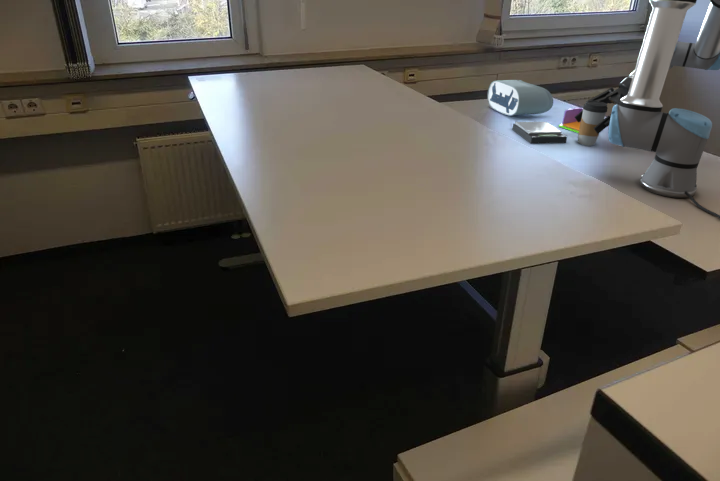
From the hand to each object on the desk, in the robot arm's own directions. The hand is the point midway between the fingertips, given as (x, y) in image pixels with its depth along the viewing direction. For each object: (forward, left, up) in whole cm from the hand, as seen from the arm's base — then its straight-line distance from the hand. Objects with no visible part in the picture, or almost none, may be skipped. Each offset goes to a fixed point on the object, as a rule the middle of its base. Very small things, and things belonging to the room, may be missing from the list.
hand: (585, 125), depth 194 cm
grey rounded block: (+42, +7, -7) cm, 43 cm away
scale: (+9, +13, -7) cm, 17 cm away
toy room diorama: (+18, -9, -7) cm, 21 cm away
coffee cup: (0, -2, -7) cm, 7 cm away
